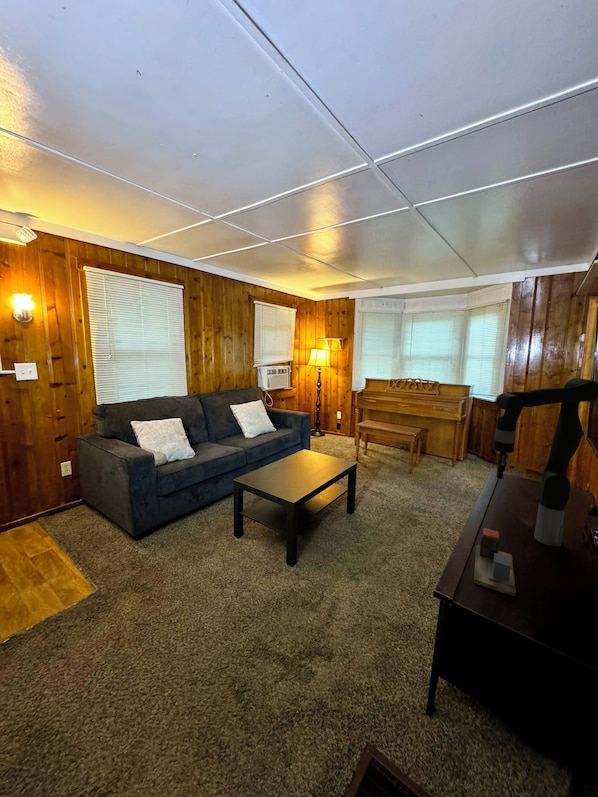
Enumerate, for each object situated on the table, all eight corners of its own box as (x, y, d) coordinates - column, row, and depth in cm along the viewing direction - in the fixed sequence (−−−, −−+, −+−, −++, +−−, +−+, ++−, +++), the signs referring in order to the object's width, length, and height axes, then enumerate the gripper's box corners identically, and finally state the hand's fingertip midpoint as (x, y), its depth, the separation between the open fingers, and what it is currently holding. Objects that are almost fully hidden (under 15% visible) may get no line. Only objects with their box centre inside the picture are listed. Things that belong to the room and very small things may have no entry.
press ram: (496, 547, 135) (498, 531, 134) (496, 554, 130) (498, 538, 129) (481, 543, 138) (483, 527, 137) (481, 550, 133) (482, 534, 132)
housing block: (507, 571, 123) (509, 557, 122) (508, 580, 118) (510, 566, 117) (492, 566, 126) (494, 552, 125) (492, 575, 121) (494, 561, 120)
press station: (511, 557, 135) (514, 535, 133) (515, 596, 113) (519, 571, 112) (475, 547, 141) (478, 526, 140) (473, 582, 120) (476, 558, 118)
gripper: (494, 435, 145) (489, 471, 148) (494, 442, 133) (489, 481, 136) (513, 437, 141) (509, 474, 144) (516, 445, 130) (510, 485, 133)
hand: (499, 478), depth 140 cm, fingers closed
